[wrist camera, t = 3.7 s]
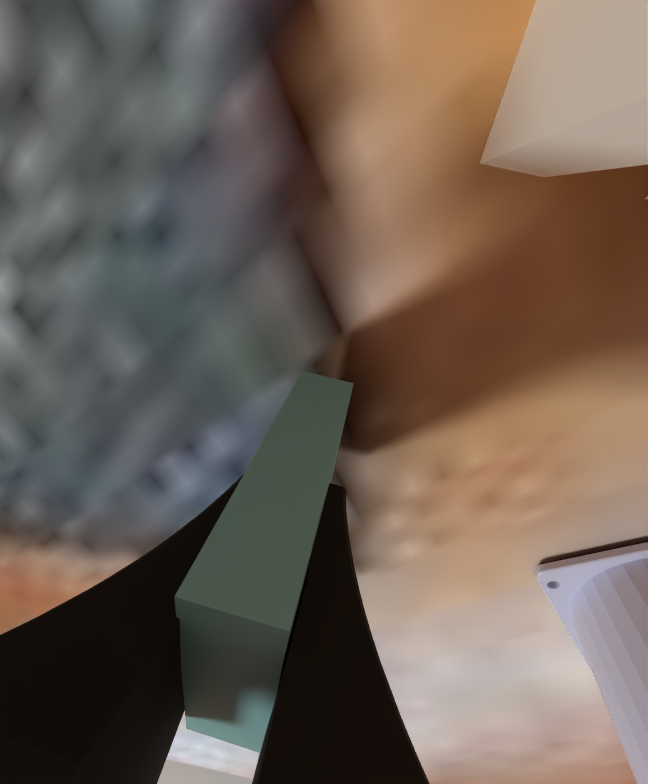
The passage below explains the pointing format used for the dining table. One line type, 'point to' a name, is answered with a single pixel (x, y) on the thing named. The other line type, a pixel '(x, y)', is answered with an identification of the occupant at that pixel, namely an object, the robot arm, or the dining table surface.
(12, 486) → the dining table surface
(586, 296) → the dining table surface
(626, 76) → the domino
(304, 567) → the domino
